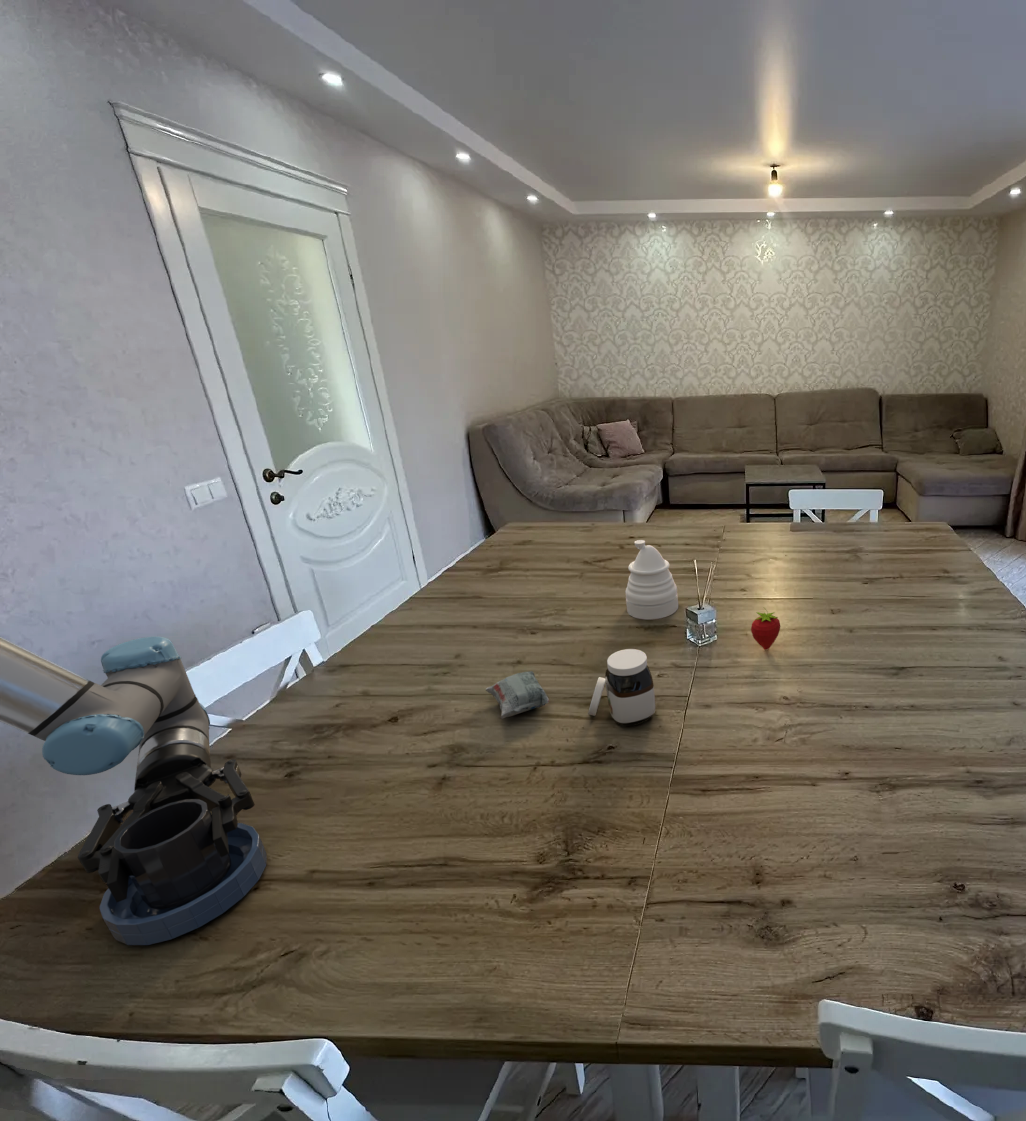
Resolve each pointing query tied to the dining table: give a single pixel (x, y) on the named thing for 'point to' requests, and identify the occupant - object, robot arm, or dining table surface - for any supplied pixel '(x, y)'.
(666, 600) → the honey pot
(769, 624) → the strawberry
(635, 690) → the spread jar
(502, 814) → the dining table surface
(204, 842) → the coffee cup
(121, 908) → the plate
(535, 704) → the packaged food
